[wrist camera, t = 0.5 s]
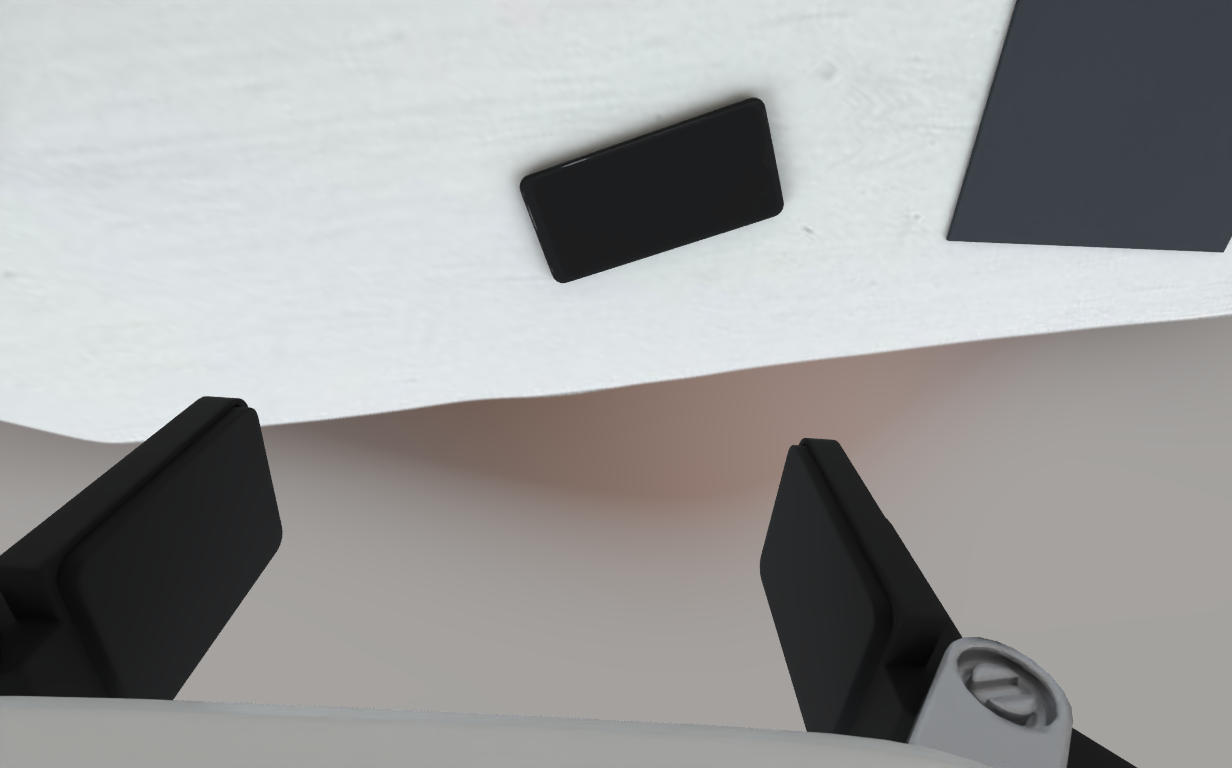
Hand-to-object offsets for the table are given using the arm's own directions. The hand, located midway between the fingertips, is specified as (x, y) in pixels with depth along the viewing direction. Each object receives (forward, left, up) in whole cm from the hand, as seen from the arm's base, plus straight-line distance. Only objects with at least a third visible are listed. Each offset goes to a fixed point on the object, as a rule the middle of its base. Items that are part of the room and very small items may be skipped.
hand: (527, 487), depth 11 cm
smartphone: (0, +4, -30) cm, 30 cm away
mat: (-8, +32, -30) cm, 44 cm away
